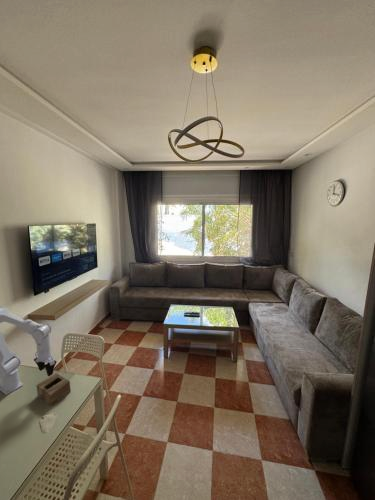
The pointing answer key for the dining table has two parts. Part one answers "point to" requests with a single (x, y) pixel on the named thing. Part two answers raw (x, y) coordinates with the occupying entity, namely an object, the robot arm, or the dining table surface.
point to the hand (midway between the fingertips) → (46, 372)
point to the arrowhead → (48, 422)
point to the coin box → (53, 388)
